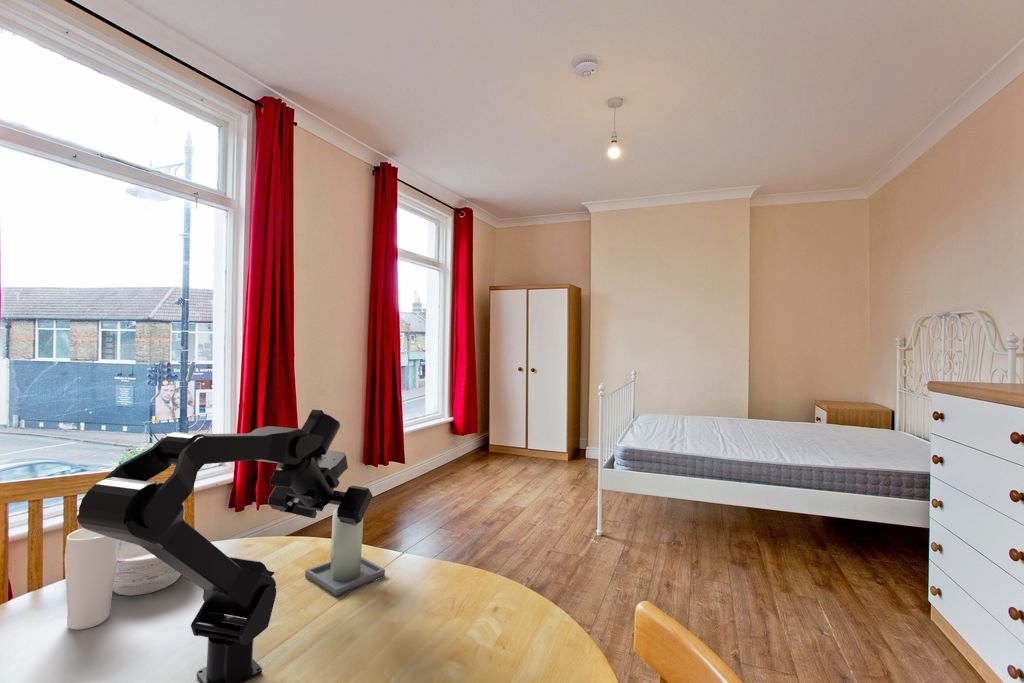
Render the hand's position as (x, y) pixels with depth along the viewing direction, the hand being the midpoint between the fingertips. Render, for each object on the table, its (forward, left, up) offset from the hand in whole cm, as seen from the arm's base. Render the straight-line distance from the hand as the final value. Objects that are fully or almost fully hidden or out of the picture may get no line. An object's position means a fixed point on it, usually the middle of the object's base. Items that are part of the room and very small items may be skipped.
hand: (335, 519), depth 94 cm
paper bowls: (+26, +23, -13) cm, 38 cm away
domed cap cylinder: (+1, -4, -12) cm, 13 cm away
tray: (+1, -4, -13) cm, 14 cm away
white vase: (+18, +33, -13) cm, 40 cm away
